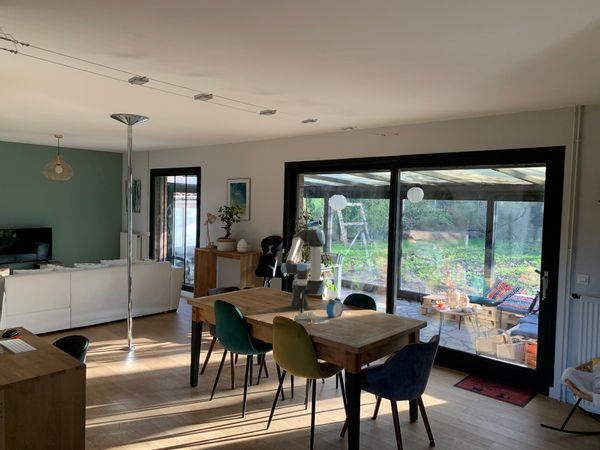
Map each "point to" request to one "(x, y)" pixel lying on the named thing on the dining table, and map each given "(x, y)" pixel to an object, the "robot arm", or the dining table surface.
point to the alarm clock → (334, 307)
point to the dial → (310, 316)
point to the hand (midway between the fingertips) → (301, 316)
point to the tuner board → (318, 320)
